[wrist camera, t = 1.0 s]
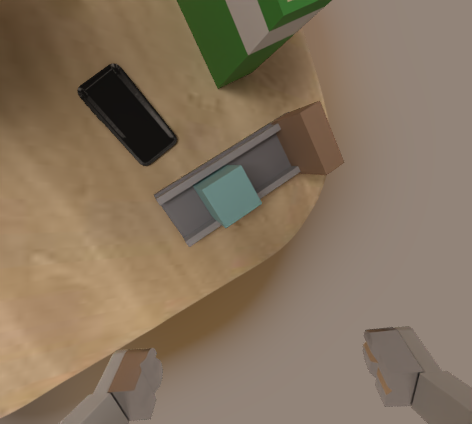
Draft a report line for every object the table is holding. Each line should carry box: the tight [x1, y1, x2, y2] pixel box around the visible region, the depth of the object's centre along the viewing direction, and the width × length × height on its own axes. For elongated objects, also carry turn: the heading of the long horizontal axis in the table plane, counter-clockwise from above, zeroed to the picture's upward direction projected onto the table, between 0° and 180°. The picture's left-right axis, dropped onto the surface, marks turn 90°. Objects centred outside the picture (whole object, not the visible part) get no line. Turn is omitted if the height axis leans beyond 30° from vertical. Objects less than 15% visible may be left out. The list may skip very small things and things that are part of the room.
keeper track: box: [154, 101, 344, 247], centre depth 44 cm, size 11×30×12 cm, turn 121°
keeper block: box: [192, 165, 262, 228], centre depth 43 cm, size 7×7×9 cm
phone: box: [78, 64, 177, 166], centre depth 42 cm, size 8×1×15 cm
